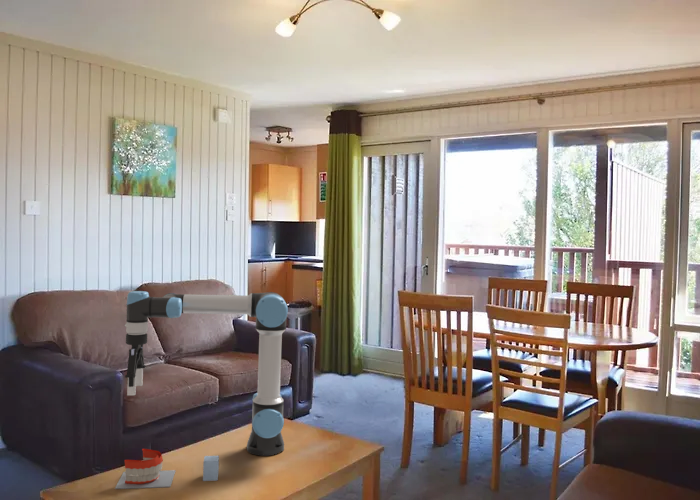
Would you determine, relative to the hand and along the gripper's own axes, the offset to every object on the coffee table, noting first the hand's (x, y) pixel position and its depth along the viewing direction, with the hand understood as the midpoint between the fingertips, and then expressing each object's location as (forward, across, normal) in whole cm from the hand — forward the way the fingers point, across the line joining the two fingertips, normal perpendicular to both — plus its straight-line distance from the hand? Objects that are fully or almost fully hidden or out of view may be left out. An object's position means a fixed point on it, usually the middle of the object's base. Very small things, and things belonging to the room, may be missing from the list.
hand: (135, 390), depth 218 cm
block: (+28, +14, +29) cm, 43 cm away
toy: (+28, +14, +7) cm, 32 cm away
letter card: (+28, +14, +7) cm, 32 cm away
